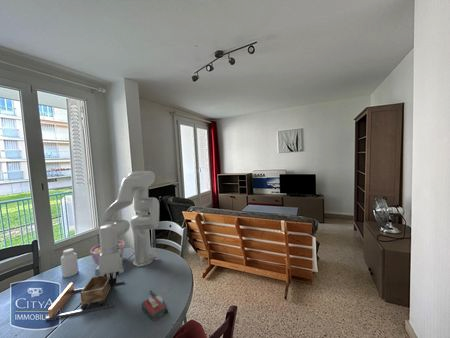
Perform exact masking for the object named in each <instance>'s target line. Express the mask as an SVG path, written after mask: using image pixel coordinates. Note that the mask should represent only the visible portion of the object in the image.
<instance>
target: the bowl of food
mask: <svg viewBox="0 0 450 338" xmlns="http://www.w3.org/2000/svg"><path fill="white" fill-rule="evenodd" d="M118 245H119V246H121V248H120V250H121V253H122V257H124V252H125V251H124V250H125V241H124V240H122V239H121V240H120V239H118ZM89 252H90V255H91V258H92V260H93V262H94V264H96V265H97V266H98V265H99V258H100V254H101V246H100V243H99V244H96V245H95V246H93V247H92V248H91V249H90V251H89Z"/></svg>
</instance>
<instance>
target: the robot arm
mask: <svg viewBox="0 0 450 338" xmlns="http://www.w3.org/2000/svg"><path fill="white" fill-rule="evenodd" d="M155 179H156V175H155V172H153V171H152V170H140V171H138V170H137V171H131V172H129V173H128V175H127V177H124V178H123V179H122V181H121V183H120V186H119V190H118V194H117V196H116V200H115V201H114V202H113V203H112V204H111V205H110V206H109V207H108V208H106V210H105V211H104V213H103V214H102V218H101V221H100V225H99V229H98V233H99V244H100V246H101V254H100V258H99V272H100V276H105V277H107V278H108V279H109V284H110V287H112V286H113V287H115V286H116V285H115V283H116V282H118V280H117V276H118V275H119V274H122V273H124V271H125V270H124V258H123V256H122V253H121V250H120V248H121V246H119V245H118V240H119V239H118V237H119V236H123V235H124V234H126V233H127V232H129V230H130V227H131V230H132V237H133V248H134V260H133V262H132V264H133V266H134V267H140V268H141V267H145V266H148V265H150V264H152V263H153V262H154V259H158V257H159V255H158V254H157V253H152V251H151V242H150V241H151V240H150V233H149V230H155V229H157V228H158V227H159V225H160V202H159V200H158V198H156V197H149V190H148V189H149V187H150V186H151V185H152V184H153V183H154V182H155ZM132 204H133V208H134V209H133V210H134V211H135V212H136V213H143V214H135V215H133V216H132V217H131V219H130V222H129V220H126V219H114V217H115V215H116V214H117V213H118V212H120V211H121V210H124V209H126V208H127V207H130V206H131V205H132ZM144 213H145V214H144ZM147 213H149V214H147ZM113 287H112V288H113Z"/></svg>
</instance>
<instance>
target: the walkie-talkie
mask: <svg viewBox="0 0 450 338" xmlns="http://www.w3.org/2000/svg"><path fill="white" fill-rule="evenodd" d="M148 293H149V294H151V295H152V296H150V297H149V298H146V300H144V301H142V303H141V309H142V311H143V310H144V311H145V312H146V313H145V312H144V311H143V312H144V313H145V314H146V315H147V314H148V315H147V317H148V318H149V317H150V320H151V319H152V320H151V321H153V322H154V321H156V320H158V319H159V318H161V317H162V315H163V314H164V315H166V314H168V313H169V310H168V308H167V307H166V305H164V299H163V298H162V297H161V295H160V294H159V295H157V294H155V292H153V290H152V289H150V290H149V292H148ZM164 315H163V316H164ZM160 316H161V317H160Z"/></svg>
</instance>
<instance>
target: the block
mask: <svg viewBox="0 0 450 338" xmlns="http://www.w3.org/2000/svg"><path fill="white" fill-rule="evenodd" d="M94 270H95V276H100V272H99V265H97V266H96V268H95V269H94Z"/></svg>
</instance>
